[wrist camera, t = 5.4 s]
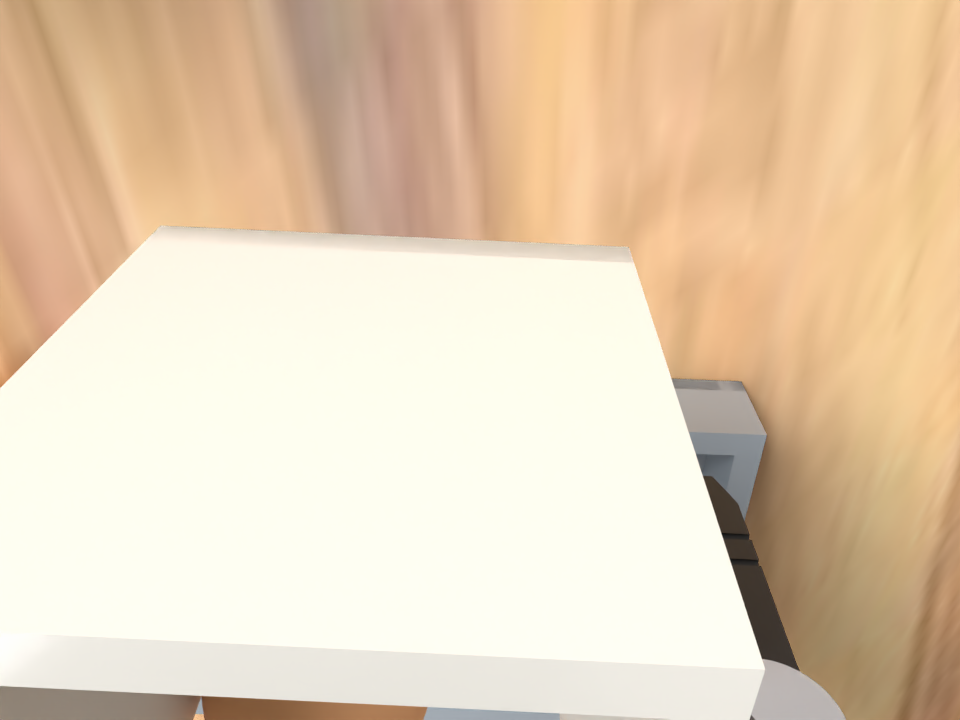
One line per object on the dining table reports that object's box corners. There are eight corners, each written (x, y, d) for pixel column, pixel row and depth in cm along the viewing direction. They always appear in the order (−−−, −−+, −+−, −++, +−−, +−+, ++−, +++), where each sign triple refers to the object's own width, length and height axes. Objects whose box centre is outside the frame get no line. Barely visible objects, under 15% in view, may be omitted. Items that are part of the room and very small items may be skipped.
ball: (284, 846, 9) (373, 863, 12) (444, 596, 10) (494, 661, 13) (105, 689, 11) (221, 735, 13) (265, 486, 12) (342, 565, 14)
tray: (741, 381, 27) (766, 435, 25) (674, 668, 34) (688, 733, 32) (131, 356, 27) (92, 407, 24) (191, 649, 34) (165, 712, 32)
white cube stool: (628, 247, 11) (765, 668, 5) (582, 586, 14) (633, 1084, 8) (160, 225, 11) (-228, 619, 5) (218, 568, 14) (17, 1053, 8)
